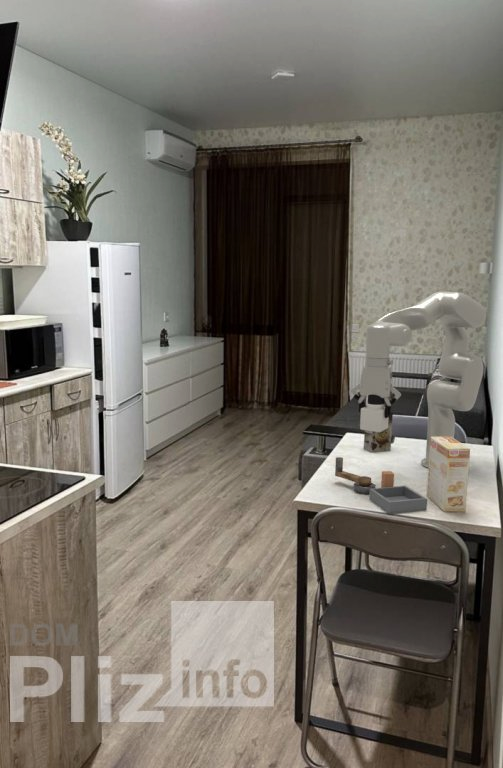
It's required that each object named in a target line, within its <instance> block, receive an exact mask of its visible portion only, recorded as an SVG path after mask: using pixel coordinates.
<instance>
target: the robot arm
mask: <svg viewBox="0 0 503 768" xmlns="http://www.w3.org/2000/svg"><path fill="white" fill-rule="evenodd" d="M486 318H487V312H486V309H485V307H484V306H483V305H482V304H481V303H480V302H478V301H476V300H475V299H474V298H472V297H470V296H469V295H467V294H465V293H462V292H460V291H459V292H458V291H436V292H434V293H432V294H430V295H429V296H427V297H425V298H424V299H422V300H421V301H419V302H417V303H416V304H415V305H412V306H409V307H406V308H403V309H400V310H396V311H393V312H390V313H388V314H386V315H384V316H382V317H380V318H379V319H377V320H376V321H375V322H374V323H373V324H368V326H367V327H366V339H365V340H366V341H365V357H364V359H365V362H364V365H363V367H362V369H361V370H362V371H361V375H360V382H359V384H358V385H356V386H355V387H352V389H351V390H350V392H351V394H352V395H353V397H354V399H355V400H356V401H357V402H358V403H357V404H358V412H359V416H361V408H363V407H366V397H367V396H368V395H378V396H380V397H381V398H384V400H385V404H386V405H385V406H384V407H385V418H388V417H389V415H391V411H392V405H394V403H396V402H397V401H398V399H399V398H400V397H401V396H402V393H401V392H400V391H399V390H398V389H396V388H395V387H394V386H393V381H394V380H393V370H392V369H393V368H392V367H391V366H390V365H394V359H390V348H391V347H400V348H401V347H404V346H407V345H408V344H409V343H410V342H411V341H412V338H413V331H416V330H422V329H423V330H424V329H425V328H428V327H429V326H431V325H432V324H433V323H435V322H436V321H438V320H439V321H440V323H441V325H442V327H443V330H444V335H445V340H444V344H443V347H442V348H443V349H442V352H441V356H440V359H439V364H438V367H437V369H438V374H439V375H440V376H442V377H443V378H447V379H451V380H452V379H453V380H457V381H460V383H458V382H453V381H446V380H435V381H432V382H430V384H429V385H428V387H427V389H426V399H427V400H426V402H427V409H428V416H427V434H426V447H425V450H426V451H425V458H423V459H421V460H420V464H421V465H422V466H423V467H425V468H427V469H429V454H430V438H431V437H452V438H454V439H455V428H456V418H455V414H454V411H453V410H455V411H460V412H468V411H470V410H471V409H472V408H473V407H474V406H475V403H476V401H477V397H478V394H479V389H480V386H481V383H482V379H483V376H484V369H485V368H484V362H483V360H482V358H481V357H479V356H478V355H475V354H470V353H469V354H468V350H469V347H470V337H469V335H468V332H467V330H466V328H467V329H468V328H469V329H477V328H478V329H479V328H480V327H482V326H483V324H484V323H485V321H486ZM358 390H359V393H358V392H357V391H358ZM392 395H394V397H393V398H392V399H391V397H392Z"/></svg>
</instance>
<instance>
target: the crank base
mask: <svg viewBox="0 0 503 768" xmlns="http://www.w3.org/2000/svg"><path fill="white" fill-rule="evenodd" d="M372 488H377V486H376V484H375V483H374V482H371V485H370V486H361V485H359V483H357V482H354V483H353V492H354V493H356V494H359V495H366V496H367V495H369V491H370V489H372Z"/></svg>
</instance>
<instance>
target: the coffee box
mask: <svg viewBox="0 0 503 768" xmlns="http://www.w3.org/2000/svg"><path fill="white" fill-rule="evenodd" d="M393 413H394V412H393V411H392V410H391V415H389V419H388V428H387V429H385V430H383V431H382V432H374V431H368V430H364V435H363V436H364V437H363V439H364V440H363V450H365V451H368V452H370V453H380V452H382V453H383V452H389V451H391V450H392V449H391V446H392V444H391V435H393V434H392V431H393V415H394V414H393Z"/></svg>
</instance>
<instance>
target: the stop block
mask: <svg viewBox="0 0 503 768" xmlns="http://www.w3.org/2000/svg"><path fill="white" fill-rule="evenodd" d="M394 483H395V473H394V472H393V471H392V470H386V471H385V470H384V471H381V484H380V485H381V486H380V488H383V487H394V486H395V485H394Z"/></svg>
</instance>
